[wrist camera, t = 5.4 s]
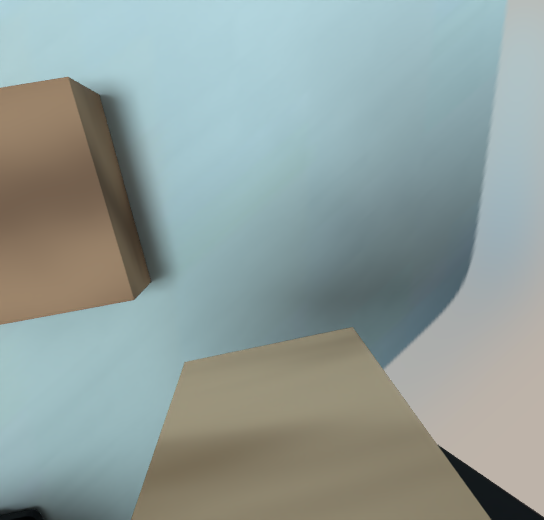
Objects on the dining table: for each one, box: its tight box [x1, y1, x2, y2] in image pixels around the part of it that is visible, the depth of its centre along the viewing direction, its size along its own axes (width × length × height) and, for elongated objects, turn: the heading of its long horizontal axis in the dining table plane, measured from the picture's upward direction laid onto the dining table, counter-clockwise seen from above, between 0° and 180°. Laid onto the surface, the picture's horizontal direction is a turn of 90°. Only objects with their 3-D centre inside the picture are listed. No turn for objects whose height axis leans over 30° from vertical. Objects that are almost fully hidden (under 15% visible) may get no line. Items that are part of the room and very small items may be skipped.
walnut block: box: [0, 77, 151, 325], centre depth 14 cm, size 9×9×3 cm
